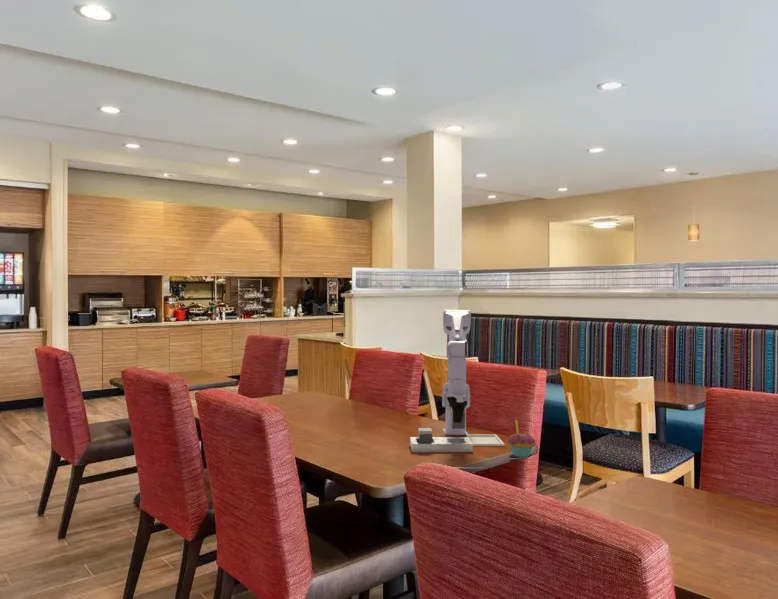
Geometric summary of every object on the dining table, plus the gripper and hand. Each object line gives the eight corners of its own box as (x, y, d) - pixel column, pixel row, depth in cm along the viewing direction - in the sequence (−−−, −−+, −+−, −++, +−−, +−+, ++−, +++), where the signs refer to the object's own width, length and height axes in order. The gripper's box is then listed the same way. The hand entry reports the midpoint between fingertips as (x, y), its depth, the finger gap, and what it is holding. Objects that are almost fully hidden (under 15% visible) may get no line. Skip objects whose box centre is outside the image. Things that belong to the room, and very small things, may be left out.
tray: (466, 437, 211) (466, 434, 211) (496, 437, 212) (496, 434, 212) (472, 447, 198) (472, 444, 198) (504, 447, 198) (504, 444, 198)
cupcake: (514, 461, 183) (515, 421, 183) (502, 453, 191) (502, 415, 191) (540, 459, 185) (541, 419, 185) (527, 452, 193) (527, 414, 193)
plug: (450, 425, 197) (450, 407, 197) (462, 425, 197) (463, 407, 197) (452, 428, 193) (452, 409, 193) (465, 428, 193) (465, 409, 193)
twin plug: (418, 446, 197) (418, 427, 197) (430, 446, 197) (430, 427, 197) (419, 449, 193) (419, 430, 193) (432, 450, 193) (432, 430, 193)
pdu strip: (409, 446, 199) (410, 437, 199) (467, 446, 200) (468, 437, 200) (411, 453, 190) (411, 444, 190) (472, 453, 191) (472, 444, 191)
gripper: (441, 375, 202) (441, 416, 202) (447, 381, 187) (446, 425, 188) (463, 375, 202) (462, 416, 202) (470, 381, 188) (469, 426, 188)
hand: (456, 420), depth 195 cm, fingers closed on plug, 4 cm apart
